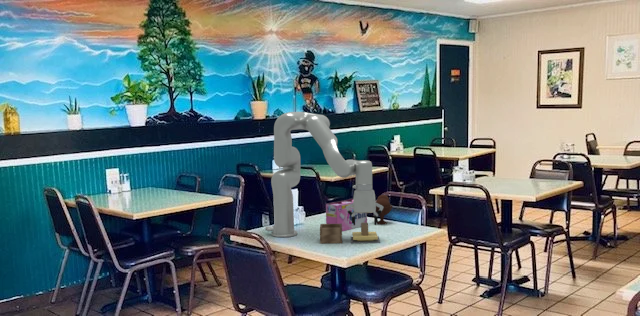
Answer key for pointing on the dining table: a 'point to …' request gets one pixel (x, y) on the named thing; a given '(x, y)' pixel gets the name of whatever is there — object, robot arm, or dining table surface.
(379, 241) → the mat
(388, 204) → the ice cream bowl
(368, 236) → the lid
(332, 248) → the dining table surface
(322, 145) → the robot arm
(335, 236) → the box
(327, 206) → the gum box
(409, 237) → the dining table surface
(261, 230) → the dining table surface
